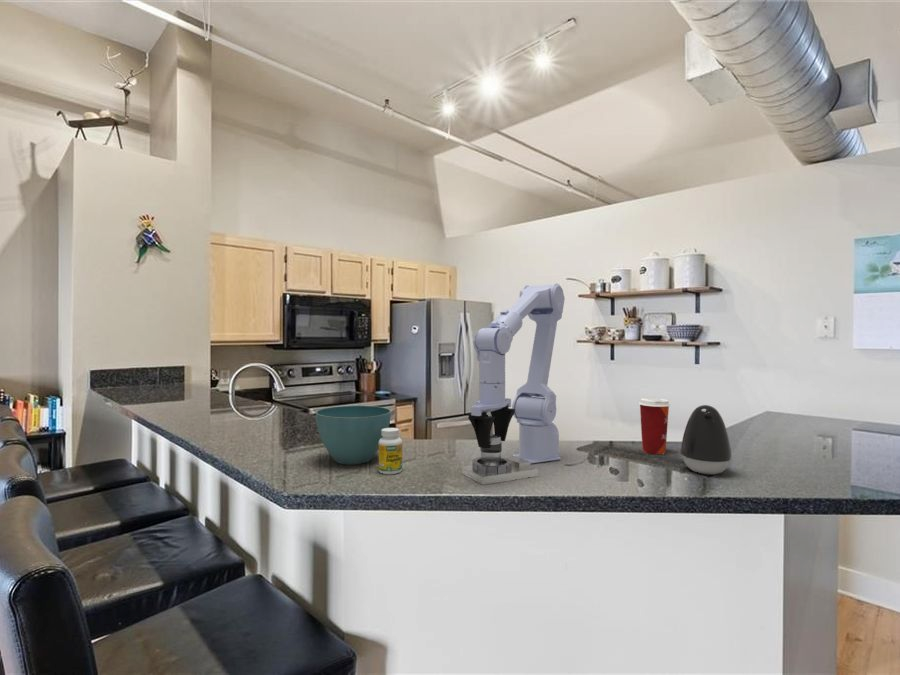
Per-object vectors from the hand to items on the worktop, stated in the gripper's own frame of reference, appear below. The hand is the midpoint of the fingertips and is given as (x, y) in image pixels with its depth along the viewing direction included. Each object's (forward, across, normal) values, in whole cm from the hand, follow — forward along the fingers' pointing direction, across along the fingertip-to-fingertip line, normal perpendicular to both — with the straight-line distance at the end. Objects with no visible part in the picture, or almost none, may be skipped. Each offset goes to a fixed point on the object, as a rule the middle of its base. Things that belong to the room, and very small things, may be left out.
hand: (492, 443), depth 107 cm
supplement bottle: (+7, +10, -21) cm, 24 cm away
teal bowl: (+7, +8, -34) cm, 36 cm away
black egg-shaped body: (+8, -31, +39) cm, 50 cm away
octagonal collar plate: (+7, -2, +1) cm, 7 cm away
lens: (+5, 0, 0) cm, 5 cm away
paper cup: (+8, -43, +25) cm, 50 cm away
